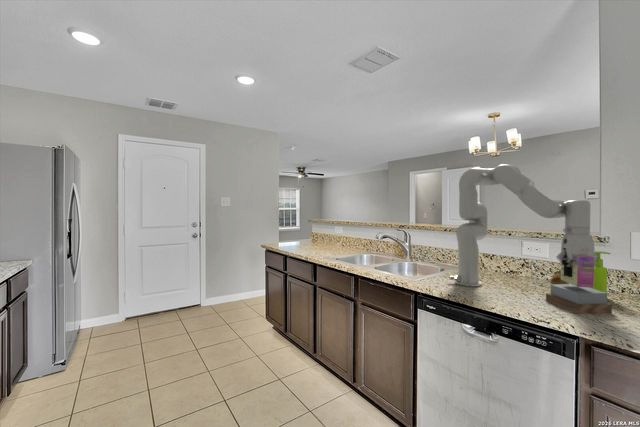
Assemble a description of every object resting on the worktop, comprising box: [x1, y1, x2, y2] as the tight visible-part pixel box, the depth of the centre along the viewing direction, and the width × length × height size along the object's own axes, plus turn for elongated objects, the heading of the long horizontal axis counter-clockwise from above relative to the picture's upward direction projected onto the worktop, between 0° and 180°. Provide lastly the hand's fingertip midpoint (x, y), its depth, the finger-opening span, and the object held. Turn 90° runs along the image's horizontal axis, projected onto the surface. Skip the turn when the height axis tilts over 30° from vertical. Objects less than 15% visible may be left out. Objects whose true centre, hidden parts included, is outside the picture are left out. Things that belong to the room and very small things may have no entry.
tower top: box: [550, 283, 608, 304], centre depth 117 cm, size 11×13×4 cm
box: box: [560, 256, 594, 287], centre depth 117 cm, size 10×6×12 cm, turn 169°
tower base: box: [545, 292, 613, 315], centre depth 117 cm, size 13×15×4 cm
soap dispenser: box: [588, 250, 612, 294], centre depth 128 cm, size 6×7×20 cm
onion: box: [549, 270, 570, 285], centre depth 145 cm, size 8×8×8 cm
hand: (576, 275), depth 117 cm, fingers closed on box, 6 cm apart
